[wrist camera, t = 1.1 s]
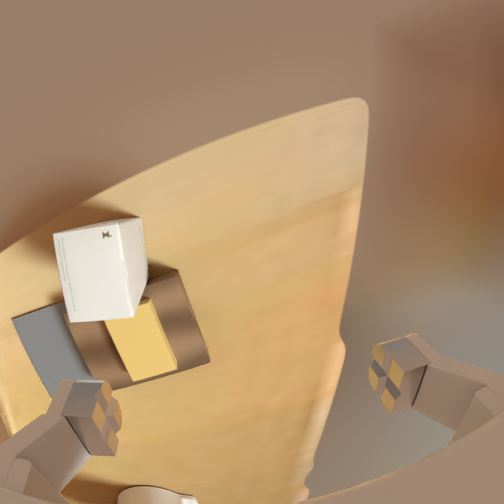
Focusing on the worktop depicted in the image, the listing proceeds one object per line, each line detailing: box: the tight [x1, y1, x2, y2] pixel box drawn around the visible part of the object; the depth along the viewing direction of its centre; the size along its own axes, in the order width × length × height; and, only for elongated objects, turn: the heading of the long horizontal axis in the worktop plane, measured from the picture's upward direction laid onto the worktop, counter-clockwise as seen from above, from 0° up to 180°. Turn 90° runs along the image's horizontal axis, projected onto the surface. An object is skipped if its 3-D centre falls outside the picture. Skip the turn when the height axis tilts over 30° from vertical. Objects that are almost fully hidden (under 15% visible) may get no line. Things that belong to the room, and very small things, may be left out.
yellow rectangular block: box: [104, 298, 177, 382], centre depth 35 cm, size 9×6×2 cm, turn 17°
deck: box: [63, 270, 210, 391], centre depth 38 cm, size 12×16×4 cm
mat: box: [12, 301, 95, 399], centre depth 37 cm, size 14×11×1 cm
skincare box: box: [53, 217, 149, 323], centre depth 30 cm, size 8×7×16 cm
